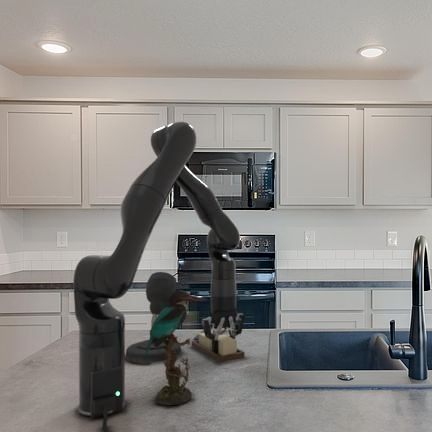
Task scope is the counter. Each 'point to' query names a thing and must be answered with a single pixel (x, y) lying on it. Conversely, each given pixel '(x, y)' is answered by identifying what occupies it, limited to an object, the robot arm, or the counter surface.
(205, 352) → the frame
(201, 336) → the pad
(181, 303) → the sculpture
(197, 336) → the smartphone
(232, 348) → the pad
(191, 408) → the counter surface
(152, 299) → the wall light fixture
